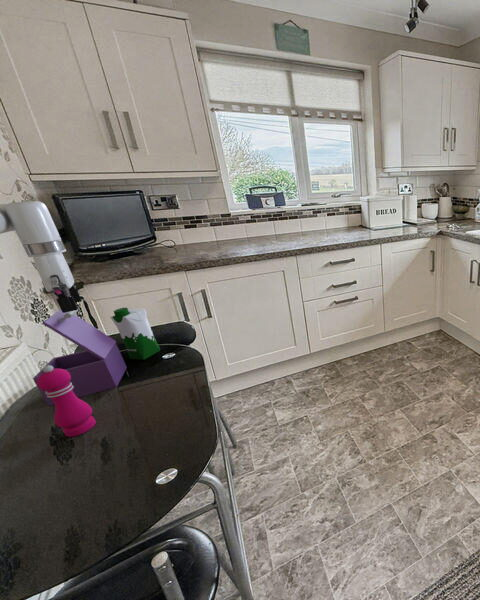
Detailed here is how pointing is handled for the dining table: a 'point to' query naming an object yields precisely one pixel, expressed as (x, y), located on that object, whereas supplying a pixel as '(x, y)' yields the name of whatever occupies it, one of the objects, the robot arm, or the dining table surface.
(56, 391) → the pepper mill
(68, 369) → the box
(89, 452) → the dining table surface
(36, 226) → the robot arm
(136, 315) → the milk carton
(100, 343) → the lid
